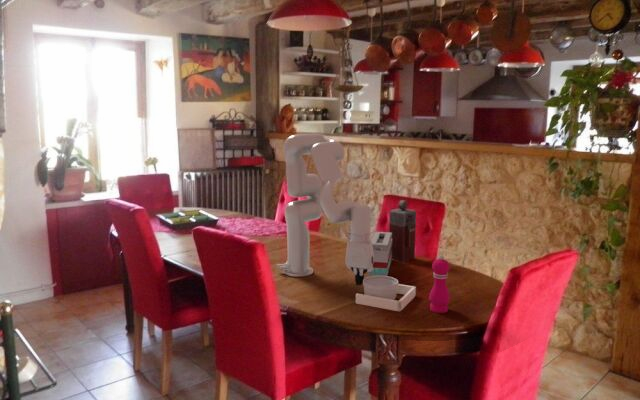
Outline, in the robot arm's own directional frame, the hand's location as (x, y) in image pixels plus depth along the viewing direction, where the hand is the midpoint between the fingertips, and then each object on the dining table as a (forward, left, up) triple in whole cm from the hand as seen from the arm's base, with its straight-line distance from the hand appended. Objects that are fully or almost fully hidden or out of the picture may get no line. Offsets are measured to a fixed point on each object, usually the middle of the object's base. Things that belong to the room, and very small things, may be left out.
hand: (359, 284), depth 199 cm
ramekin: (+7, -5, -4) cm, 10 cm away
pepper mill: (+24, -19, -4) cm, 31 cm away
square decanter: (+32, +43, -4) cm, 54 cm away
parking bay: (+8, -6, -4) cm, 11 cm away
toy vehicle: (+17, +31, -4) cm, 35 cm away
